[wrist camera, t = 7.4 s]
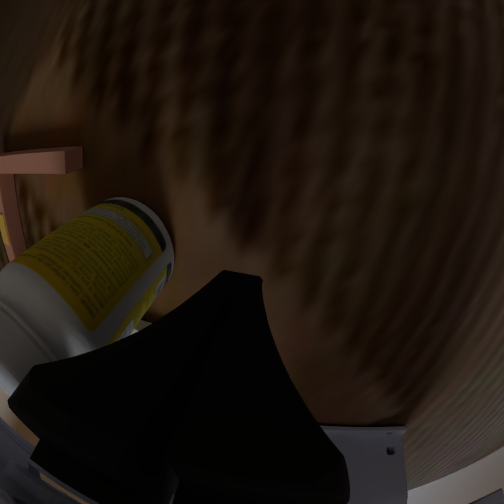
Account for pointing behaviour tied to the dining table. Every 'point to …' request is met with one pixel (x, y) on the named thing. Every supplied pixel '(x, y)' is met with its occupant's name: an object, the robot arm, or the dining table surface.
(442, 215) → the dining table surface
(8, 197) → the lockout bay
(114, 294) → the supplement bottle
